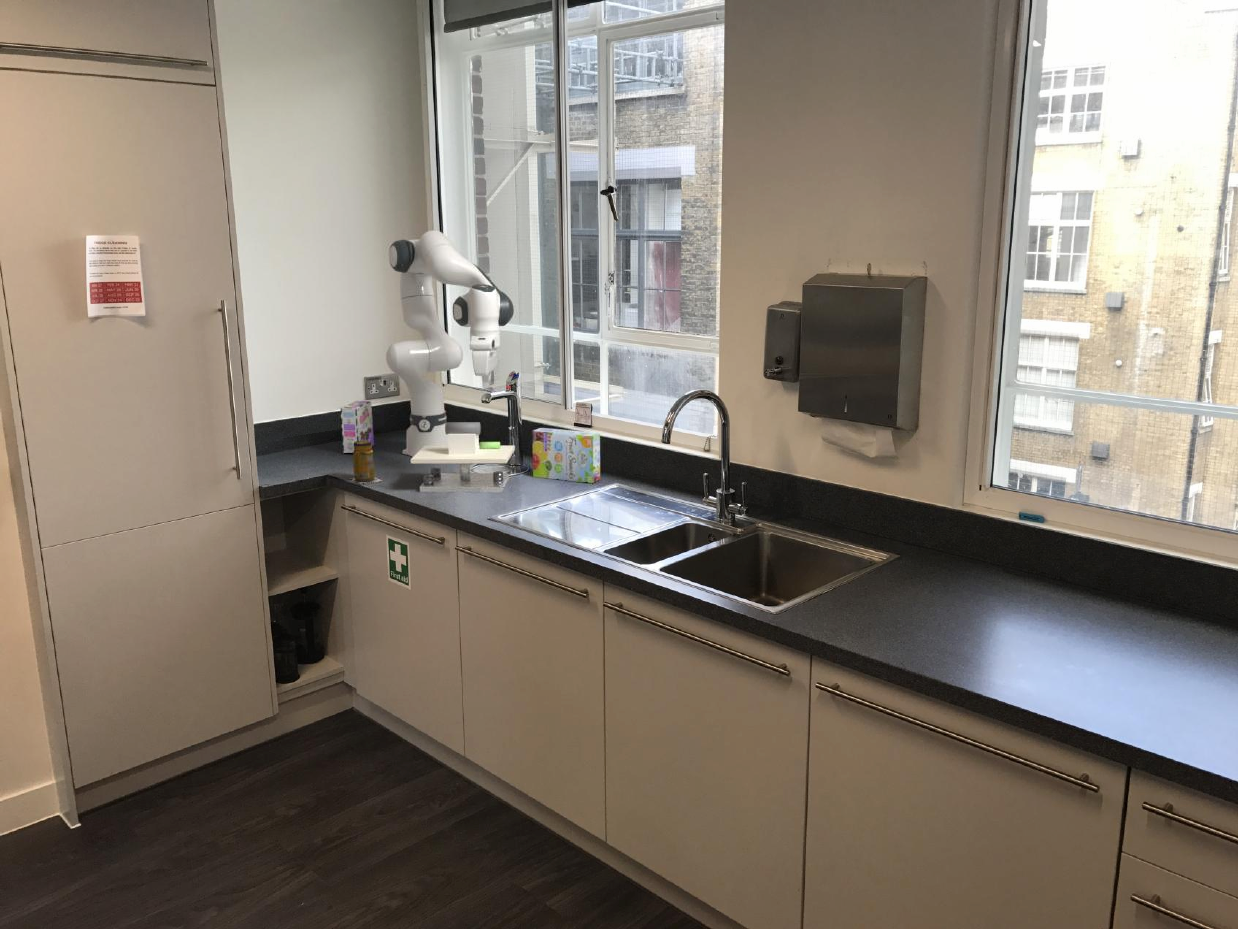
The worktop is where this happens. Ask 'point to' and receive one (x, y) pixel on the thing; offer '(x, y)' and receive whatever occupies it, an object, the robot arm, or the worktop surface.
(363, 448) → the condiment
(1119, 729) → the worktop surface
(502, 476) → the bolted base plate
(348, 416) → the candy box
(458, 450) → the plate
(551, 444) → the snack box
